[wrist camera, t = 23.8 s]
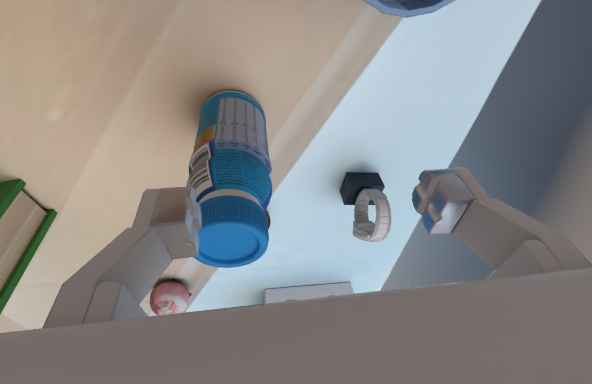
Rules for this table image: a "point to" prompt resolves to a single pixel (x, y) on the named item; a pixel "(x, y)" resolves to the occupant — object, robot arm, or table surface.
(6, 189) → the hardback book
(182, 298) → the onion
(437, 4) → the bowl
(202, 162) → the beverage bottle
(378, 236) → the watch
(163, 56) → the table surface
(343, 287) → the gable box
